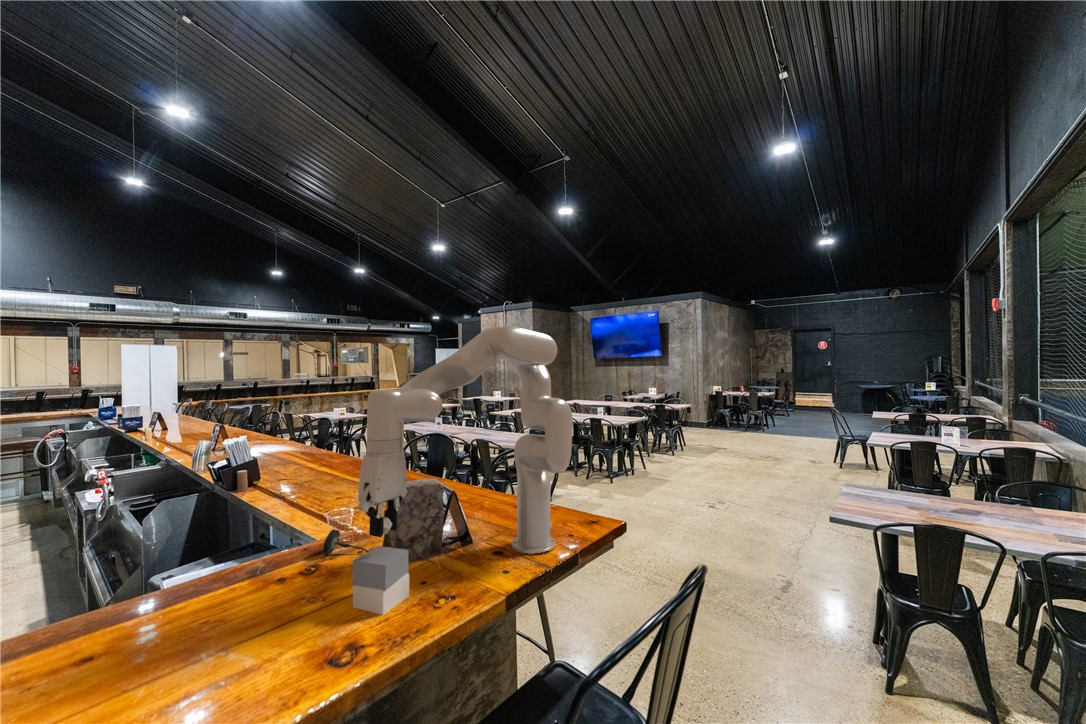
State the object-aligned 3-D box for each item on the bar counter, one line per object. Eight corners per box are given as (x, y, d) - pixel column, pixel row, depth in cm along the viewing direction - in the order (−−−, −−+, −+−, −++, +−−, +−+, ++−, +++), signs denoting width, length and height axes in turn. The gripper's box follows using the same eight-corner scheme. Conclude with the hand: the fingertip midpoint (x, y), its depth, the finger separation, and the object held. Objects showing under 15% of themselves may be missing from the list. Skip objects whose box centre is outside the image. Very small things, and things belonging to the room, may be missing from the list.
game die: (374, 537, 89) (375, 522, 89) (374, 531, 92) (374, 517, 92) (392, 534, 90) (392, 520, 90) (391, 528, 93) (391, 515, 93)
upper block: (377, 568, 96) (377, 546, 96) (408, 572, 94) (408, 550, 94) (352, 584, 88) (352, 560, 88) (385, 590, 86) (385, 565, 86)
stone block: (395, 568, 106) (397, 488, 107) (386, 559, 112) (388, 482, 112) (444, 555, 114) (445, 480, 115) (434, 547, 120) (435, 476, 121)
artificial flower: (333, 552, 120) (342, 515, 123) (412, 562, 119) (419, 524, 122) (318, 556, 111) (328, 516, 114) (403, 567, 111) (411, 526, 114)
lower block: (380, 590, 96) (380, 567, 96) (409, 596, 93) (409, 573, 93) (352, 608, 89) (353, 583, 89) (383, 615, 86) (383, 590, 86)
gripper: (397, 440, 101) (396, 518, 100) (341, 451, 85) (338, 543, 85) (423, 442, 98) (422, 522, 97) (369, 454, 83) (367, 549, 82)
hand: (383, 531), depth 91 cm, fingers closed on game die, 3 cm apart
